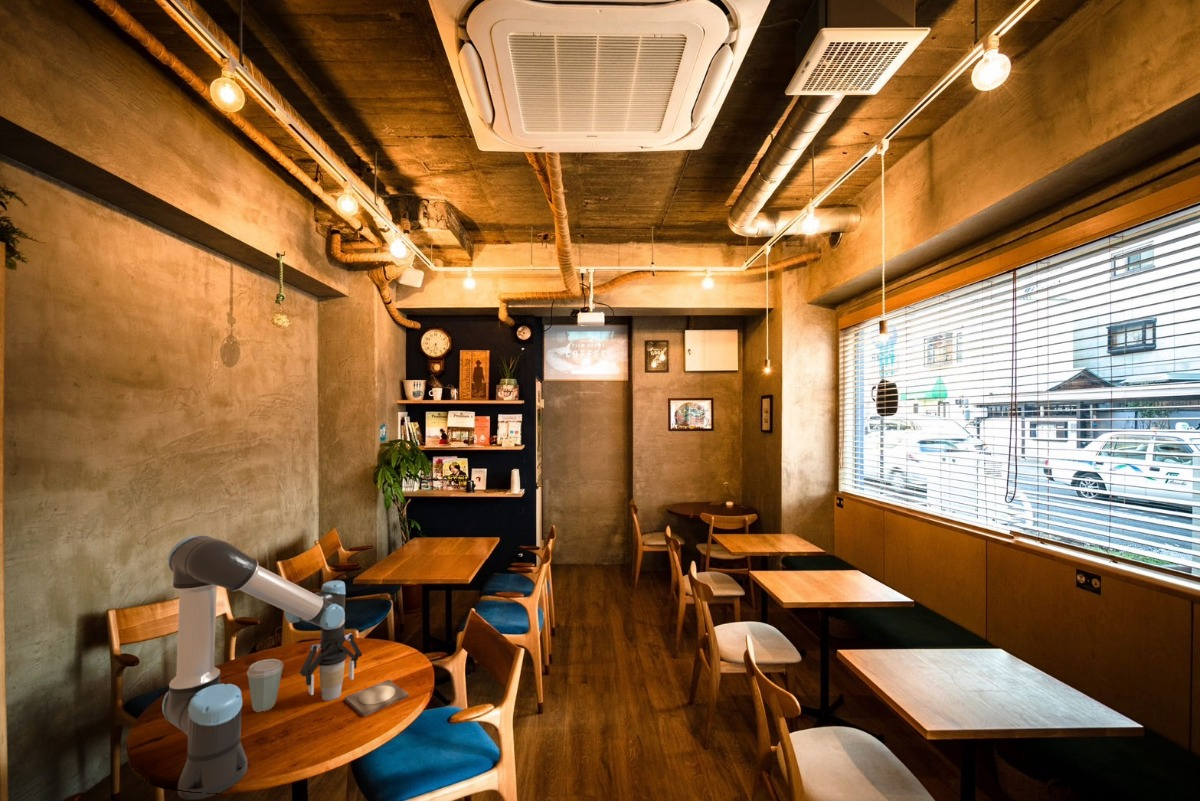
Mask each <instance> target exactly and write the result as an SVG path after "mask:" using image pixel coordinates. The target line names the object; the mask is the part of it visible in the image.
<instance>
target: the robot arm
mask: <svg viewBox="0 0 1200 801" xmlns="http://www.w3.org/2000/svg"><path fill="white" fill-rule="evenodd" d="M167 565H168V567H169V569H170V571H171V572H173V575H172V576H173V577H172V588H173V589H174V590H175V591H177V592H178V593H179V598H178V601H179V602H178V620H177V621H178V623H177V624H178V625H177V626H178V627H177V631H178V632H177V648H176V649H177V654H176V655H177V656H176V675H175V676H174V677H173V678H172V679H171V681H170V682H169V686H168V691H167V692H166V693H165V695H164V698H163V700H162V705H161V706H162V708H161V709H162V714H163V715H164V718H165V719H166V721H168V722H169V723H170V724H171V725H174V726H175V727H176V728H178V729H179V730H180V731H181V732H183V733H184V734H185V735H186V736H187V759H186V762H185V764H184V767H183V770H182V772H181V773H180V774H181V775H180V777H179V780H178V784H177V795H178V797H179V798H181V799H183V800H187V801H193V800H194V801H195V800H201V799H207V798H210V797H213V796H215V795H217V794H206V793H218V794H220V793H222V792H224V791H226V790H229V789H230V788H231V787H233V786H234V785H236V784H237V783H239V781H240V780H242V779H243V778H244V776H245V775H246V773H247V771H248V757H247V756H246V753H245V750H244V747H243V745H242V742H241V738H242V737H241V732H242V731H241V730H242V710H243V697H242V689H241V688H239V686H237V685H236V684H232V683H227V684H225V683H221V670H220V669H219V668H218V667H215V653H216V652H215V651H216V650H215V649H216V646H215V645H216V623H217V622H216V621H217V618H216V616H217V595H218V594H217V591H218V590H217V589H218V587H220V588H224V589H226V590H228V591H231V592H237V591H242V592H243V593H245V594H248V595H250V596H253V597H254V598H256V599H259V600H261V601H262V602H265V603H267V604H270V605H272V606H275V607H276V608H278V609H281V610H282V611H284V618H285V619H286V621H287V623H289V624H294V623H299V622H300V621H304V622H307V623H309V624H310V623H311V624H313V625H315V626H317V627H320V628H321V629H320V643H317V644H314V643H312V644H311V645H310V651H309V652H308V654H307V656H306V658H305V661H304V663H303V665H302V667H301V669H300V670H299V674H300V676H302V677H305V685H306V686H308V694H310V696H313V695H314V693H315V692H314V691H315V689H314V688H315V675H314V674H313V673H314V672H315V670H316V669H317V667H318V666H319V664H320V662H321V661H322V659H323V658H324V657H325V656H326V655H327V654H331V653H333V652H337V651H338V650H339V649H341V650H343V651H345V653H346V654H347V657H348V656H349V657H350V659H348V678H349V679H350V680H354V679H355V669H357V663H358V660H359V658H361V657H362V655H363V653H362V651H361V650H360V647H359V646H358V644H357V643H356V641H355V638H354V634H353V633H351V632H348V633H347V634H345V631H346V630H345V626H346V625H345V622H346V618H345V617H346V616H345V615H346V613H345V612H346V595H347V593H346V584H345V583H346V582H344V581H342V580H331V581H327V582H325V583H323V584H322V587H321V590H319V591H317V592H314V593H313V592H312V591H309V590H308V589H305V588H303V587H302V586H299V585H298V584H296V583H294V582H292V581H290V580H288V579H286V578H284V577H282V576H281V575H278V574H276V573H274V572H272V571H270V570H268V569H266V568H265V567H262V566H260V565H259V561H258V560H257V559H256V558H253V557H252V556H249V554H246V553H245V552H243V551H242V550H240V549H239V548H238V547H236V546H235V545H233V544H232V543H230V542H228V541H225V540H221V539H216V538H215V537H212V536H209V535H192V536H188V537H185V538H184V539H182V540H180V541H179V542H177V544H176V545H174V546H173V547H172V549H171V550H170V551H169V554H168V557H167ZM345 641H347V642H349V643H348V644H350V647H351V648H352V649H353V651H354V653H355V654H354V653H353V652H351V651H350V650H349V649H348V648H347V647H346V646H345V645H344V643H345ZM319 649H320V650H319ZM318 651H319V652H318ZM317 652H318V653H317ZM316 654H317V655H316ZM315 656H316V657H315ZM178 789H179V790H183V791H191V792H202V793H190V792H183V791H178Z"/></svg>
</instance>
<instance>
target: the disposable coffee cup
mask: <svg viewBox="0 0 1200 801" xmlns="http://www.w3.org/2000/svg"><path fill="white" fill-rule="evenodd" d="M283 668H284V663H283V661H282V660H280V659H276V658H269V659H263V660H258V661H256V662H253V663H252V664H251V665H250V666H249V667H248V670H246V675H247V676H246V677H247V678H248V685H249V693H250V694H249V695H250V700H251V707H252V710H253V712H254V711H256V713H262V712H261V711H264V712H267V711H269V710H271V709H273V708H274V706H275V705H276V703H277V700H278V693H279V689H280V683H281V679H282V674H283ZM272 707H273V708H272ZM266 710H267V711H266Z"/></svg>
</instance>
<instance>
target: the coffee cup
mask: <svg viewBox="0 0 1200 801" xmlns="http://www.w3.org/2000/svg"><path fill="white" fill-rule="evenodd" d="M347 658H348V655H347V654H346V653H345V651H343V650H341V649H339V650H338V651H337V652H333V653H331V654H327V655H326V656H325V657H324V658H323V659H322V661H321V662H320V664H319V665H318V666H319V670H318V673H319V681H320V683H319V684H320V689H321V690H320V691H321V699H322V700H323V701H326V702H331V701H334V700H336V699H338V698H340V696H341V695H342V688H343V682H344V675H345V668H346V659H347Z"/></svg>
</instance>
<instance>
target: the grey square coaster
mask: <svg viewBox="0 0 1200 801" xmlns="http://www.w3.org/2000/svg"><path fill="white" fill-rule="evenodd" d="M409 696H410V695H409V692H407V691H406V690H404V689H403V688H402V687H400V686H398V685H397V684H396V683H394V681H392V680H390V679H387V680H384V681H382V682H379V683H377V684H375V685H372V686H369V687H367V688H364V689H362V690H359V691H356V692H355V693H352V694H350V695H346V696H344V702H346V703H347V704H348V705H349V706H350V707H351V708H353V710H355V712H357V713H358V714H359V715H360V716H361V717H362V718H364V716H365V717H367V716H369V715H372V714H374V713H375V712H376V713H377V712H378V711H380V710H382V708H383V709H384V707H385V708H387V707H389V705H390V706H392V705H394V704H396V703H398V701H399V702H401V701H403V700H405V699H407V698H406V697H408V698H409ZM404 698H405V699H404ZM400 700H401V701H400ZM395 702H396V703H395ZM393 703H394V704H393ZM391 704H392V705H391ZM386 706H387V707H386Z"/></svg>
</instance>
